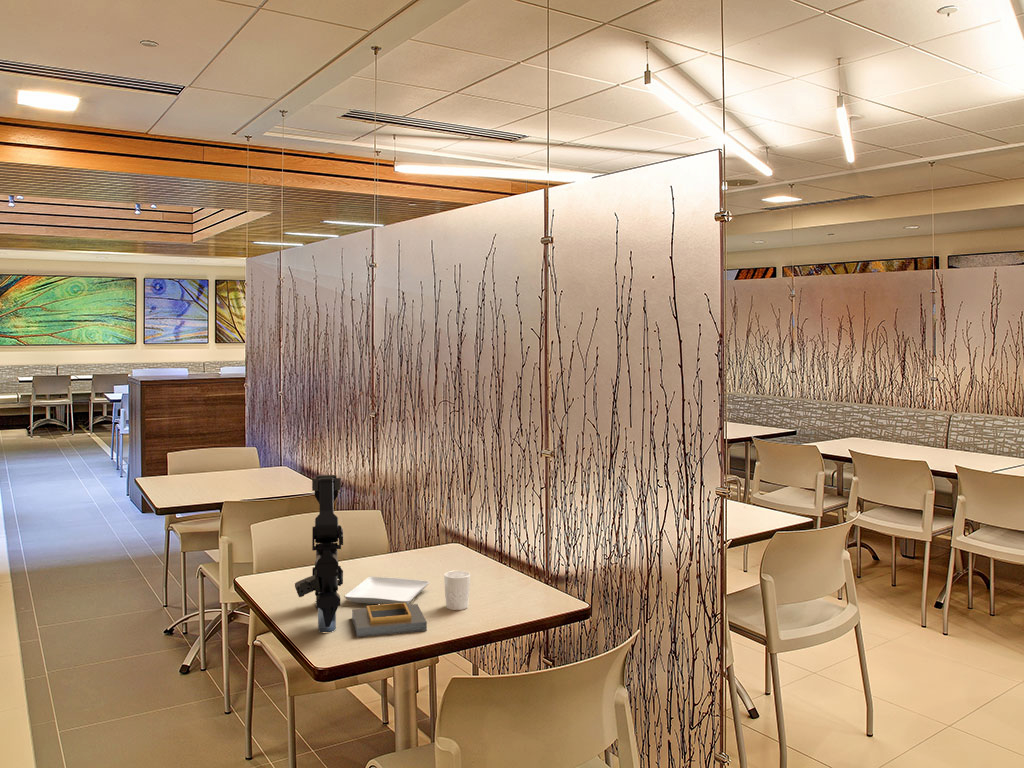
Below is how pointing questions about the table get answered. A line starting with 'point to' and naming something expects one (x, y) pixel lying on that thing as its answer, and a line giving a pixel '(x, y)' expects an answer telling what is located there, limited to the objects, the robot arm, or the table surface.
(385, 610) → the grey and gold frame
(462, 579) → the white cup
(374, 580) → the salad plate
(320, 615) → the can
